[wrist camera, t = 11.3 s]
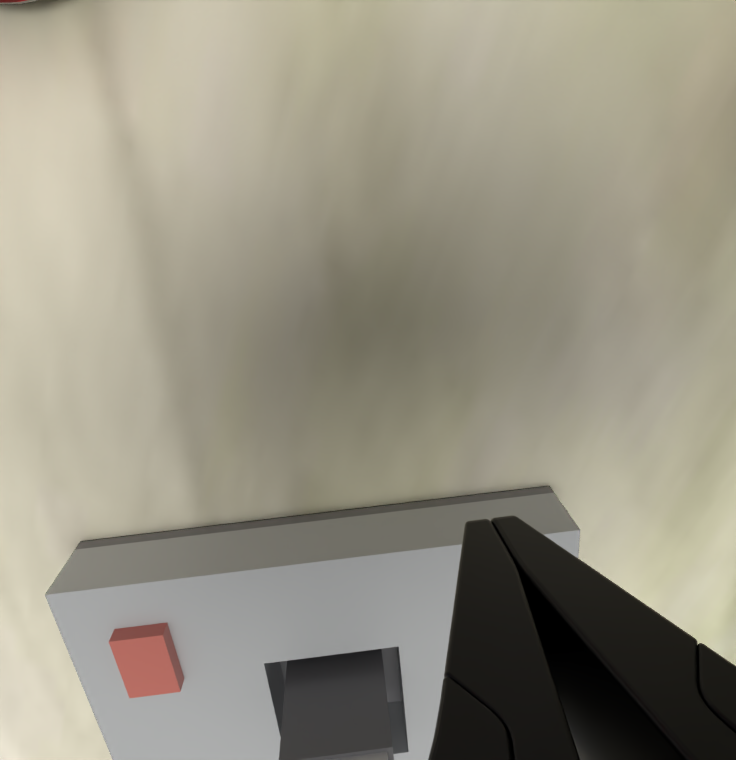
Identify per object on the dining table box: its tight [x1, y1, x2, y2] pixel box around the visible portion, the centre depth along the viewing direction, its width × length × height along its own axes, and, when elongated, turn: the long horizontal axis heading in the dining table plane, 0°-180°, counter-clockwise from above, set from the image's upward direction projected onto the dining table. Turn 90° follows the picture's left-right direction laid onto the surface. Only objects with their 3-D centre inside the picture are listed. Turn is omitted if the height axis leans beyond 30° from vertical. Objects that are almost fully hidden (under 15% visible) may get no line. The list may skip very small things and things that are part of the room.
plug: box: [279, 649, 394, 760], centre depth 22 cm, size 4×5×7 cm
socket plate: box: [45, 486, 580, 760], centre depth 24 cm, size 20×16×4 cm
